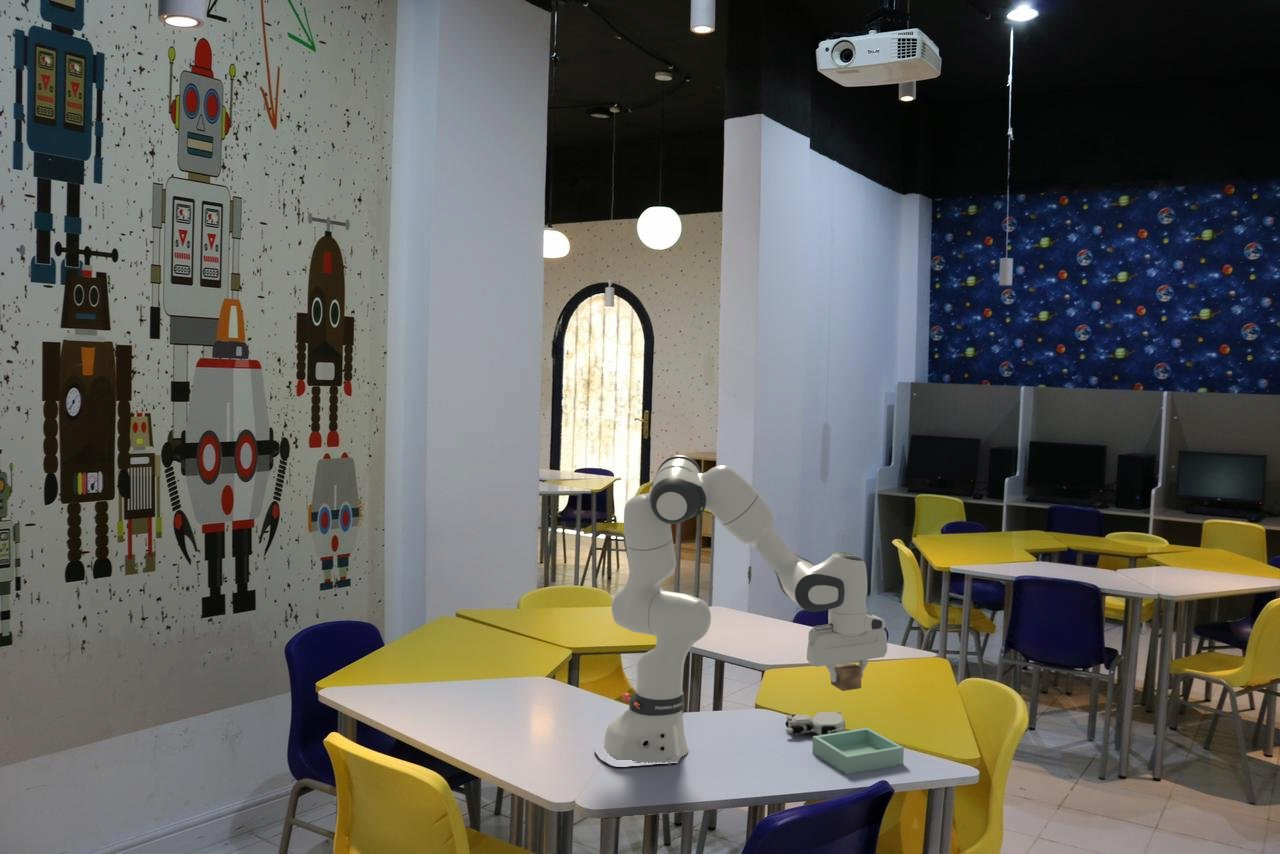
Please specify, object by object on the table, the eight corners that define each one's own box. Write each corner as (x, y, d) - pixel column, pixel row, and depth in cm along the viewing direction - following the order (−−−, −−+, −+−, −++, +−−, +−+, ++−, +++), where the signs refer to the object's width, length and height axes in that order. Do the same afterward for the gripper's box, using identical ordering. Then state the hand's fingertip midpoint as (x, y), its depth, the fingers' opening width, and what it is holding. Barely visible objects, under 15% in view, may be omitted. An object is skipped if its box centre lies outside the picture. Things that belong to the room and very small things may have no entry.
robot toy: (785, 743, 253) (846, 743, 251) (784, 725, 253) (845, 725, 251) (786, 726, 265) (844, 726, 263) (785, 709, 265) (843, 708, 263)
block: (842, 691, 235) (843, 670, 235) (831, 684, 240) (831, 663, 239) (861, 688, 237) (861, 667, 237) (849, 681, 242) (849, 660, 241)
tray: (846, 774, 232) (846, 757, 232) (812, 752, 245) (812, 736, 245) (903, 764, 238) (903, 747, 238) (867, 743, 251) (867, 727, 251)
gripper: (816, 630, 230) (815, 689, 231) (891, 620, 238) (890, 677, 239) (801, 623, 236) (801, 680, 237) (875, 613, 244) (874, 669, 245)
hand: (846, 679), depth 238 cm, fingers closed on block, 5 cm apart
